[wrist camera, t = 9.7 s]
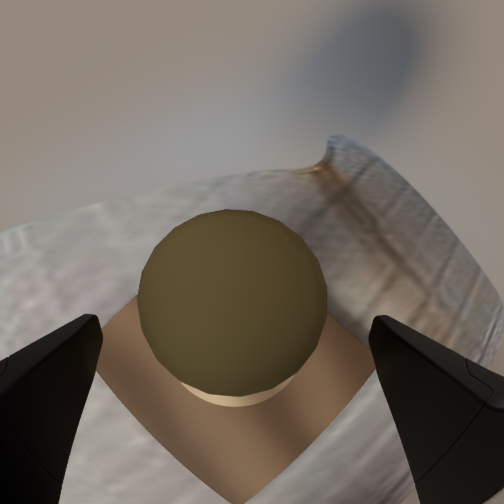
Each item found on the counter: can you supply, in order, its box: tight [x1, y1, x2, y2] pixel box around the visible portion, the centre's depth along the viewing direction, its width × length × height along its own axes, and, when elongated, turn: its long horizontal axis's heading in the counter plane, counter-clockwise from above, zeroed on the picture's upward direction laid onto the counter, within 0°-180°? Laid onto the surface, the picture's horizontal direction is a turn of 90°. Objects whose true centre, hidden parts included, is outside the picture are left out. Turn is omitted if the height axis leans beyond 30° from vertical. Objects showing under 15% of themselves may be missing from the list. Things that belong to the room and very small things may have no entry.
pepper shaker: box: [137, 209, 327, 397], centre depth 12 cm, size 6×6×11 cm
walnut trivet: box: [96, 295, 376, 504], centre depth 17 cm, size 13×14×2 cm
